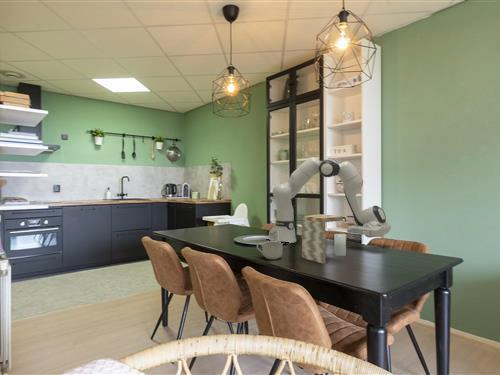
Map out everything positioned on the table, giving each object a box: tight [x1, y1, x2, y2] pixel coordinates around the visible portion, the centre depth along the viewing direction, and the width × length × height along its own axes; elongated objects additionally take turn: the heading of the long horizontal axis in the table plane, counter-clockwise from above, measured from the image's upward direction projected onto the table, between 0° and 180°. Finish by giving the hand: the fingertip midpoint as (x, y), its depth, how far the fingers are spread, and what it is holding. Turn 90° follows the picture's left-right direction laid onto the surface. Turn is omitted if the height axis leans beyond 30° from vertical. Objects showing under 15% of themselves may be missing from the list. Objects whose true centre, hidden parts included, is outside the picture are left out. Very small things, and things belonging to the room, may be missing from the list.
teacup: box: [256, 240, 284, 261], centre depth 161 cm, size 14×11×8 cm
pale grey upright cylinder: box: [333, 233, 347, 257], centre depth 166 cm, size 6×6×11 cm
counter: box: [301, 213, 343, 265], centre depth 158 cm, size 15×14×22 cm
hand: (355, 232), depth 172 cm, fingers open, 8 cm apart
